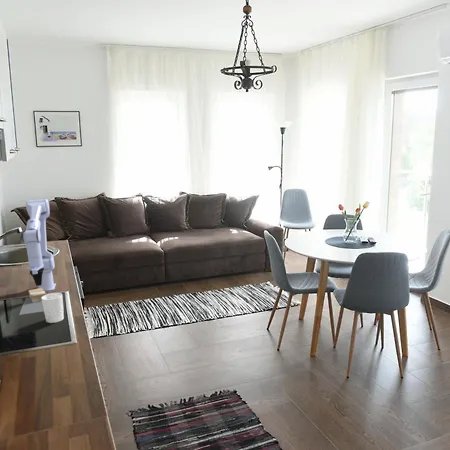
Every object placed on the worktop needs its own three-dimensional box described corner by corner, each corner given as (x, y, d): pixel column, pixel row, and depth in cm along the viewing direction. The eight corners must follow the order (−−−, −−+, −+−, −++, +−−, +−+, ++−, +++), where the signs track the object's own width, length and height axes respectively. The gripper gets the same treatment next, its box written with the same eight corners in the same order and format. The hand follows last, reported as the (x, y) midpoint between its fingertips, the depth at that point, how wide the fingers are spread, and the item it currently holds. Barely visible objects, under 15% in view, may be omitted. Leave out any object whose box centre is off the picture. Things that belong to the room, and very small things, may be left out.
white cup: (40, 322, 184) (36, 298, 182) (53, 315, 191) (50, 292, 189) (56, 324, 181) (53, 300, 180) (69, 316, 189) (66, 293, 187)
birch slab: (32, 302, 207) (29, 296, 215) (46, 299, 210) (42, 293, 218) (31, 296, 206) (28, 290, 215) (45, 293, 209) (42, 287, 218)
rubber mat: (26, 298, 214) (25, 297, 214) (57, 294, 217) (57, 293, 217) (19, 315, 193) (18, 314, 193) (54, 310, 197) (54, 309, 196)
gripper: (27, 253, 213) (31, 281, 216) (23, 261, 199) (27, 291, 202) (43, 251, 215) (47, 279, 217) (40, 259, 201) (44, 289, 204)
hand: (39, 285), depth 210 cm, fingers closed
